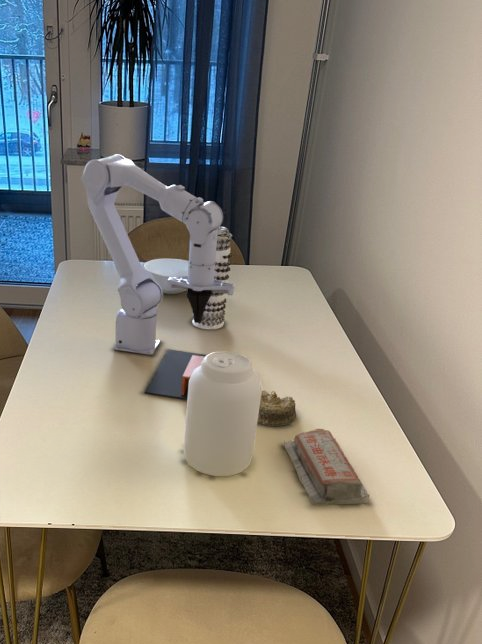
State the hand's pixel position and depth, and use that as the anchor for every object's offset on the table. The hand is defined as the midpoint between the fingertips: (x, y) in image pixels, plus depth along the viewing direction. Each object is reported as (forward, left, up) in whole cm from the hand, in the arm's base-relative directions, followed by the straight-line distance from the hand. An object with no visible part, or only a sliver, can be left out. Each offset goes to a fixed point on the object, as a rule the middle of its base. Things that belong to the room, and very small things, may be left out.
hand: (198, 321), depth 146 cm
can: (+12, -37, -11) cm, 40 cm away
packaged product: (+31, -36, -11) cm, 48 cm away
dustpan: (0, -8, -8) cm, 11 cm away
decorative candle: (-1, +24, -11) cm, 26 cm away
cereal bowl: (-16, +45, -11) cm, 49 cm away
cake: (+20, -18, -11) cm, 29 cm away
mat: (+2, -7, -10) cm, 13 cm away
